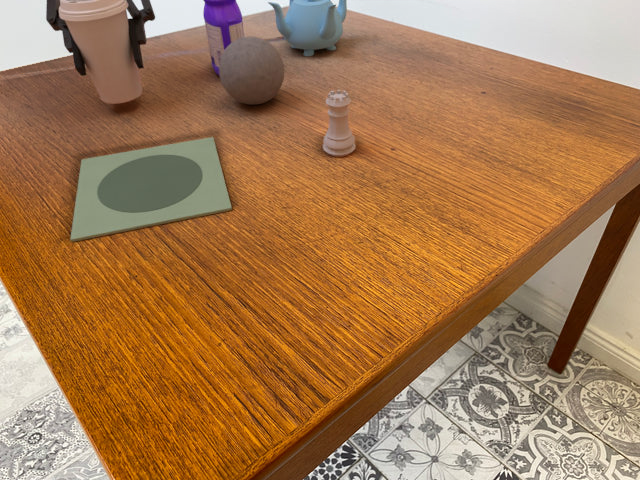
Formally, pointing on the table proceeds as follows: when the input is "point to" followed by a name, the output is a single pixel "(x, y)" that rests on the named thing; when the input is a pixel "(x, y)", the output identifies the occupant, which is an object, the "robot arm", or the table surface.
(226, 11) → the bottle
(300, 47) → the teapot
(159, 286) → the table surface
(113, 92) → the coffee cup
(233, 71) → the decorative ball
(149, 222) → the mat
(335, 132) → the rook chess piece
